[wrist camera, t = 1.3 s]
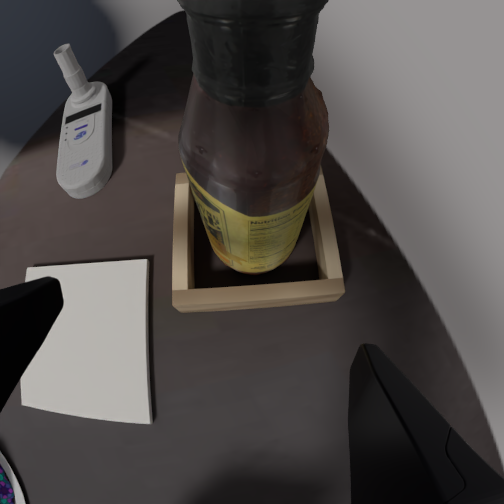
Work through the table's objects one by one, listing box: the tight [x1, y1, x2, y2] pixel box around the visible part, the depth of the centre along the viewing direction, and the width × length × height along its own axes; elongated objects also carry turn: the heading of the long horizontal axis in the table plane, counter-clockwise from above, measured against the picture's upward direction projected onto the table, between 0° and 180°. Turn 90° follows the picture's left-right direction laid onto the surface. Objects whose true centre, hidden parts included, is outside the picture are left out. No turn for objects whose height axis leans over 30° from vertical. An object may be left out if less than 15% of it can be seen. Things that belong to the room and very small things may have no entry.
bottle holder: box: [172, 168, 345, 313], centre depth 22 cm, size 10×11×2 cm
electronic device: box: [54, 44, 113, 199], centre depth 24 cm, size 5×10×15 cm
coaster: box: [21, 259, 153, 424], centre depth 21 cm, size 12×12×1 cm
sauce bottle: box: [177, 0, 329, 275], centre depth 14 cm, size 6×6×20 cm
